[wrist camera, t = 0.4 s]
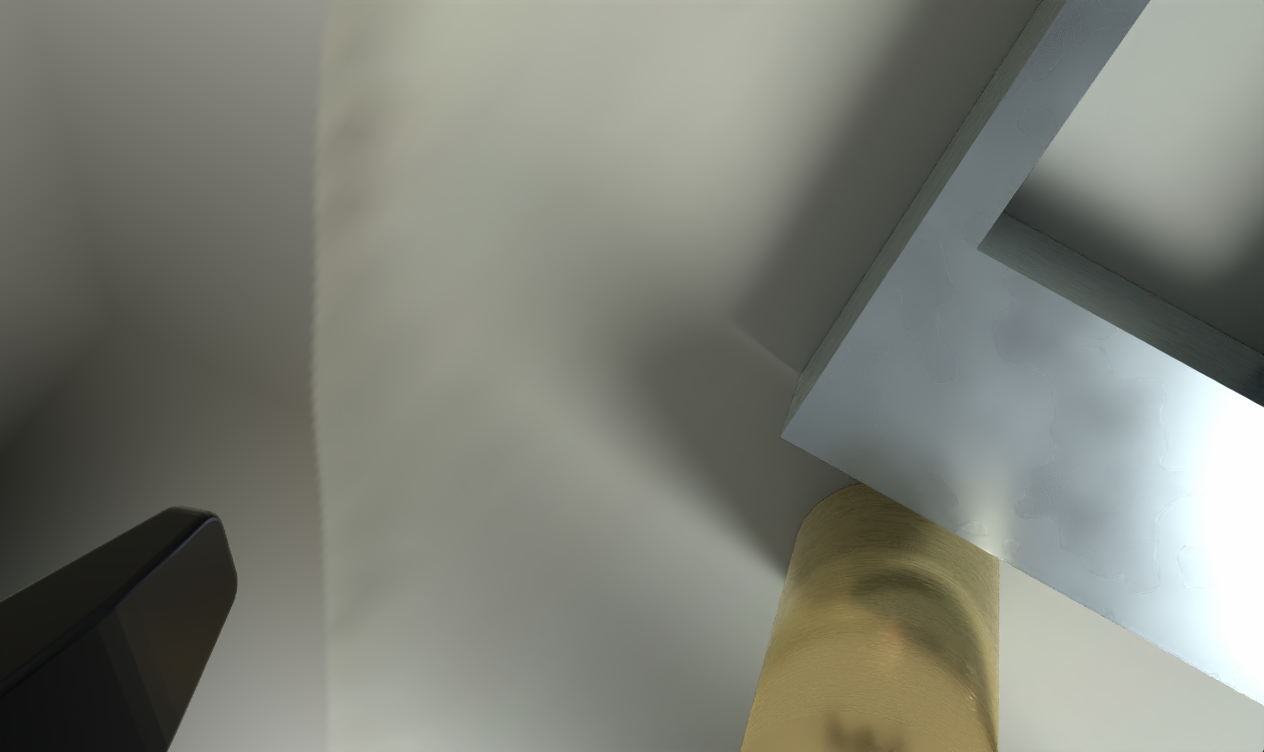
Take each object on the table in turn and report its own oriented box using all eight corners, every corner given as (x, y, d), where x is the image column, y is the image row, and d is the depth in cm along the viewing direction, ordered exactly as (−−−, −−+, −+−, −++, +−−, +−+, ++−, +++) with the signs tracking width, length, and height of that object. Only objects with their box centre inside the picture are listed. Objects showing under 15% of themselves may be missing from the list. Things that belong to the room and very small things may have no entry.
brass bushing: (928, 675, 27) (906, 941, 21) (760, 581, 27) (690, 819, 21) (1041, 547, 24) (1053, 806, 18) (857, 445, 24) (809, 669, 18)
